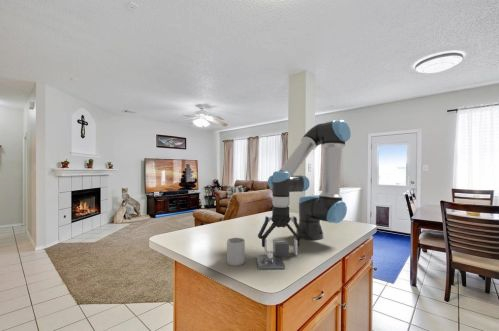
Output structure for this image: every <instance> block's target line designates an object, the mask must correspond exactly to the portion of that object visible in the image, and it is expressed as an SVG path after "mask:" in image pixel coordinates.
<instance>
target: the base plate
mask: <svg viewBox="0 0 499 331" xmlns="http://www.w3.org/2000/svg"><path fill="white" fill-rule="evenodd" d="M282 259H283V258H281V257H280V256H274V254H273V250H272V251H270V250H269V251H268V250H267V255H265V256H256V261H257V266H258V270H286V265H285V263H284V261H283V260H282Z"/></svg>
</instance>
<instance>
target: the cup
mask: <svg viewBox="0 0 499 331" xmlns="http://www.w3.org/2000/svg"><path fill="white" fill-rule="evenodd" d="M245 242H246V241H245V239H244V238H242V237H230V238H228V239H227V240H226V263H227V264H228V265H230V266H232V265H233V267H237V266H238V265H239V266H242V265H243V264H244V263H245V257H246V256H245V254H246V252H245V250H246V249H245V248H246V246H245Z"/></svg>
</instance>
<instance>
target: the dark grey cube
mask: <svg viewBox="0 0 499 331" xmlns="http://www.w3.org/2000/svg"><path fill="white" fill-rule="evenodd" d="M272 252H273V256H280V257H281V259H283V258H284V259H288V258H290V243H289V241H288V240H287V239H282V238H281V239H280V238H279V239H272Z"/></svg>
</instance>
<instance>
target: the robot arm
mask: <svg viewBox="0 0 499 331" xmlns="http://www.w3.org/2000/svg"><path fill="white" fill-rule="evenodd" d="M351 133H352V132H351V128H350V126H349V124H348V122H346V121H345V120H343V119H337V120H336V119H335V120H332V121H328V122H323V123H319V124H316V125H314V126H313V127H311V128H310V129H308V131H307V132H306V133H305V134H303V136H302V138H300V143H299V144H298V146H297V147H296V148H295V149H294V150H293V152H292V153H291V154H290V156H289V157H288V158H287V159H286V161H285V162H284V164H283V165H281V166H282V167H281V168H280V169H279V170H278V171H274V172H273V173H272V175H270V176H269V177H268V178H267V185H268V188H270V189H272V190H271V191H272V201H271V202H272V208H271V210H272V211H271V212H272V213H271V215H272V216H271V217H270V216H266V215H265V217H264V218H265V219H264V222H263V225H262V226H261V228H260V230H259V231H258V234H257V237H258V239H261V247H262V248H263V250H264V251H263V253H264V256H267V252H268V249H267V247H268V246H267V245H268V243H267V238H268V237H269V235H270V234H271V232H273V230H275V228H276V227H277V228H285V227H286V228H288V230H289V231H290V232H291V233H292V234H293V236H294V237H295V238H294V239H293V243H294V244H293V246H294V248H293V249H294V250H293V253H294V255H295V256H298V248H299V247H300V245H301V244H300V243H301V242H300V241H301V240H302V239H304V240H314V241H315V240H322V239H323V238H324V231H323V228H322V226H321V221H323V222H327V223H330V224H339V223H341V222H343V220H345V217H346V215H347V211H348V208H347V207H348V206H347V204H346V202H345V201H343V196H341V194H340V187H341V185H340V184H341V173H342V172H341V170H342V167H341V166H342V154H343V153H342V152H343V150H342V149H344V148H345V147H346V142H348V141H349V140H350V139H351ZM320 145H321V146H322V147H323V149H324V155H323V156H324V158H323V159H324V160H323V172H322V173H323V174H322V175H323V176H322V189H321V191H322V192H321V193H320V194H319V195H305V196H300V197H299V199H298V218H299V219H298V218H297V216H294V215H293V216H290V193H292V192H293V193H297V192H298V193H299V192H301V193H302V192H306V191H307V190H309V187H310V179H309V178H308V177H307V176H305V175H296V174H295V173H296V172H297V171H298V169H300V167H301V165H302V164H303V163H304V162H305V160H306V159H307V158H308V157H309V155H310V153H311V152H312V151H313V150H316V148H317V147H318V146H320ZM297 219H298V220H297ZM270 221H271V222H272V223H271V224H270V226H269V227H268V229H267V230H266V228H267V226H268V224H269V223H270ZM290 222H292V223H293V225H294V226H295V229H296V231H295V230H294V229H293V227H292V226H291V225H290V224H289V223H290Z"/></svg>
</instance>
